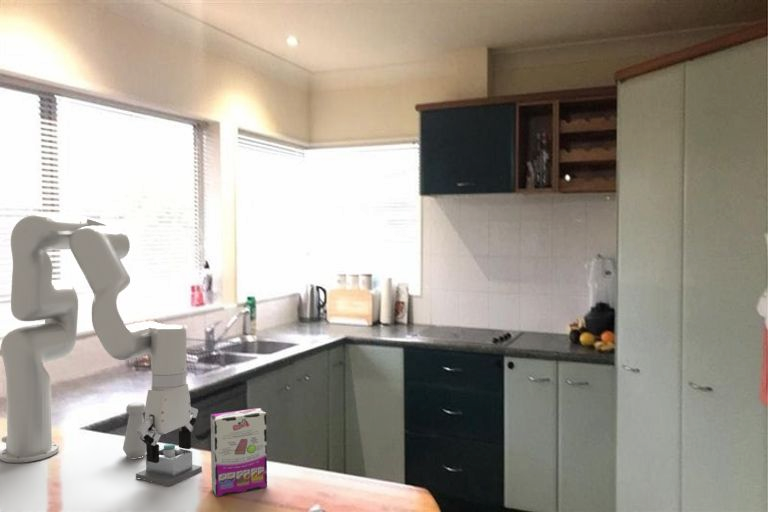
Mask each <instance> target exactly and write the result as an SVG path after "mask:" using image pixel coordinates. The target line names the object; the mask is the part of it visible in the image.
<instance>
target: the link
mask: <svg viewBox="0 0 768 512" xmlns="http://www.w3.org/2000/svg"><path fill="white" fill-rule="evenodd" d="M192 464H193V450H189V449H183V448H179V447H175V457H168V456H164V446H163V447H159V462H158V463H153V462H149V461H147V459H146V458H145V470H146V472H150V473H155V474H159V475H163V476H168V477H172V478H173V477H176V476H178V475H180V474H182V473H184V472H186V471H188V470H190V469H192Z"/></svg>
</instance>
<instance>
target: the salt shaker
mask: <svg viewBox="0 0 768 512" xmlns="http://www.w3.org/2000/svg"><path fill="white" fill-rule="evenodd" d="M145 407H146V404H144V402H138V401H137V402H131V403H128V405H127V406H126V411H125V412H126V414H127V415H129V416H128V419H127V426H126V431H125V436H124V442H123V447H122V449H123V452H124V453H125V455H126V457H127V459H128V458H137V459H139V458H138V457H142V456H143V457H145V456H146V444H144V442H143V441H142V440H141V439H140V436H139V434H138V432H137V428H138V427H139V426H140V425H141V424H142V423H143V422H144V421H145V417H144V414H145ZM143 457H142V458H143Z"/></svg>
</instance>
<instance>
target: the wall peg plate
mask: <svg viewBox="0 0 768 512" xmlns="http://www.w3.org/2000/svg"><path fill="white" fill-rule="evenodd" d="M163 447H164V456H168V457H175V448H176V444H173V443H169V444H164V445H163ZM202 471H203V467H202V466H200V465H196V464H193V463H192V469H190V470H188V471H186V472H184V473H182V474H180V475H178V476H176V477H173V478H172V477H168V476H163V475H159V474H155V473H150V472H146V469H143V470H141V471H139V472H136V473H135V478H136V479H137V478H140V479H139V480H141V479H145V480H144V481H146V480H149V481H148V482H150V481H152V482H151V483H154V482H155V483H154V484H158V483H159V484H158V485H162V484H163V486H166V487H171V486H173V485H175V484H177V483H180V482H181V481H184V480H185V479H188V478H190V477H192V476H194V475H196V474H198V473H200V472H202Z"/></svg>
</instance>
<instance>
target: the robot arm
mask: <svg viewBox="0 0 768 512" xmlns="http://www.w3.org/2000/svg"><path fill="white" fill-rule="evenodd" d="M130 244H131V243H130V239H129V237H128V235H127V234H126V233H125V231H123V230H122V229H121V228H119V227H117V226H115V225H113V224H109V223H106V222H102V221H99V220H96V219H93V218H90V217H87V216H82V215H73V214H72V215H71V214H70V215H69V214H55V213H54V214H53V213H41V214H40V213H39V214H31V215H28V216H26V217H25V216H24V217H23V218H21V219H19V221H18V222H17V223H16V224H15V225H14V227H13V229H12V231H11V235H10V248H11V250H10V251H11V256H12V257H11V258H12V274H11V276H12V277H11V292H10V310H11V314H12V316H13V317H14V318H15V319H16V320H18V321H20V322H21V321H22V322H36V321H43V320H44V323H41V324H32V325H28V326H27V325H26V326H21V327H18V328H15V329H13V330H10V331H9V332H8V333H7V334H5V336H4V337H3V339H2V340H1V344H0V351H1V358H2V361H3V367H4V371H5V381H6V382H5V383H6V384H5V387H6V425H7V426H6V432H7V433H6V434H7V435H6V436H3V437H2V438H1V442H2V443H5V448H4V449H3V450H2V451H1V452H0V460H1V461H3V462H5V463H14V464H18V463H29V462H30V463H31V462H36V461H40V460H43V459H44V460H45V459H46V458H49V457H52V456H54V455H56V454H57V453H58V451H59V449H60V447H59V444H58V443H57V442H53V441H52V438H53V437H52V435H53V434H52V428H53V427H52V380H51V377H50V374H49V373H48V371H47V369H46V368H45V365H44V363H47V362H50V361H56V360H59V359H62V358H66V357H67V356H68V355H70V354H71V353H72V352H73V350H74V349H75V345H76V341H77V332H78V314H79V312H78V311H79V298H78V293H77V292H76V289H75V288H74V287H73V286H72V285H71V284H70V283H69V282H67V281H64V280H60V279H59V280H57V279H56V280H53V272H54V271H53V270H54V269H53V262H52V261H51V260H52V259H51V257H50V255H49V254H48V252H47V251H48V250H49V251H50V250H70V251H71V253H72V255H73V256H74V258H75V261H76V262H77V265H78V266H79V268H80V270H81V272H82V275H83V276H84V277H85V279H86V281H87V284H88V285H89V287H90V289H91V291H92V293H93V300H92V305H91V321H92V322H91V323H92V327H93V330H94V332H95V334H96V336H97V338H98V340H99V342H100V344H101V346H102V348H104V350H105V351H106V354H108V355H109V356H110V357H111V358H113V359H115V360H118V361H127V360H131V359H136V358H139V357H142V356H147V355H150V359H151V360H150V362H151V363H150V364H151V366H150V368H151V371H150V372H151V374H150V375H151V377H150V378H151V379H150V385H151V386H150V387H149V388H148V391H147V395H146V401H145V412H144V422H143V423H142V424H141V425H140V426H139V427H138V428H137V432H138V434H139V436H140V439H141V440H142V441H143V442H144V444H146V454H145V460H146V459H147V461H149V462H153V463H158V462H159V449H160V444H158V442H159V440H160V439H161V436H162V435H164V434H167V433H168V434H169V433H170V432H172V431H177V430H179V429H180V430H179V431H178V448H179V449H183V450H191V449H192V432H193V430H194V425H195V423H196V421H197V417H198V413H199V409H198V408H195V407H192V406H191V396H190V389H189V385H188V382H187V376H188V375H189V372H188V370H187V331H186V330H187V329H186V328H185V327H184V326H183V325H180V324H162V323H159V322H155V321H143V322H137V323H131V324H126V323H124V320H123V319H122V316H121V314H120V313H119V309H118V305H117V299H118V296H119V294H120V293H122V292H123V291H124V290H126V288H127V287H128V286H129V285H130V283H131V278H130V275H129V273H128V272H127V270H126V268H125V266H124V264H123V262H122V261H121V259H122V260H123V259H124V258H125V257H126V256H127V255H128V253H129V251H130Z"/></svg>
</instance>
